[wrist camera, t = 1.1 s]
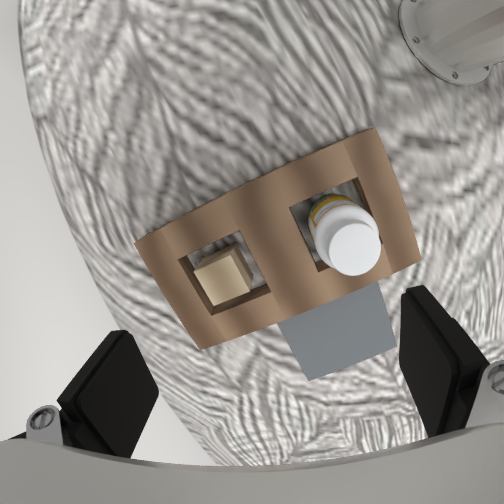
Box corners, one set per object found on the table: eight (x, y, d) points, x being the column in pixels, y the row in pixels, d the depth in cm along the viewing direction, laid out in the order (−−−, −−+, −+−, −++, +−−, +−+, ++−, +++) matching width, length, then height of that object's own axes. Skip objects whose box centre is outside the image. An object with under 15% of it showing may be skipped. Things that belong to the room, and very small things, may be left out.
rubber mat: (375, 278, 32) (377, 280, 32) (395, 343, 35) (397, 346, 34) (276, 319, 35) (276, 322, 34) (308, 378, 37) (308, 381, 37)
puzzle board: (367, 129, 27) (375, 127, 25) (412, 252, 31) (421, 260, 28) (143, 236, 33) (133, 243, 30) (204, 338, 36) (200, 350, 34)
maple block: (236, 242, 32) (230, 255, 28) (253, 274, 33) (250, 291, 29) (203, 257, 33) (193, 271, 29) (220, 288, 34) (213, 306, 30)
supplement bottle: (354, 247, 31) (382, 287, 22) (304, 242, 32) (314, 282, 22) (362, 196, 29) (396, 218, 20) (310, 190, 30) (324, 209, 21)
